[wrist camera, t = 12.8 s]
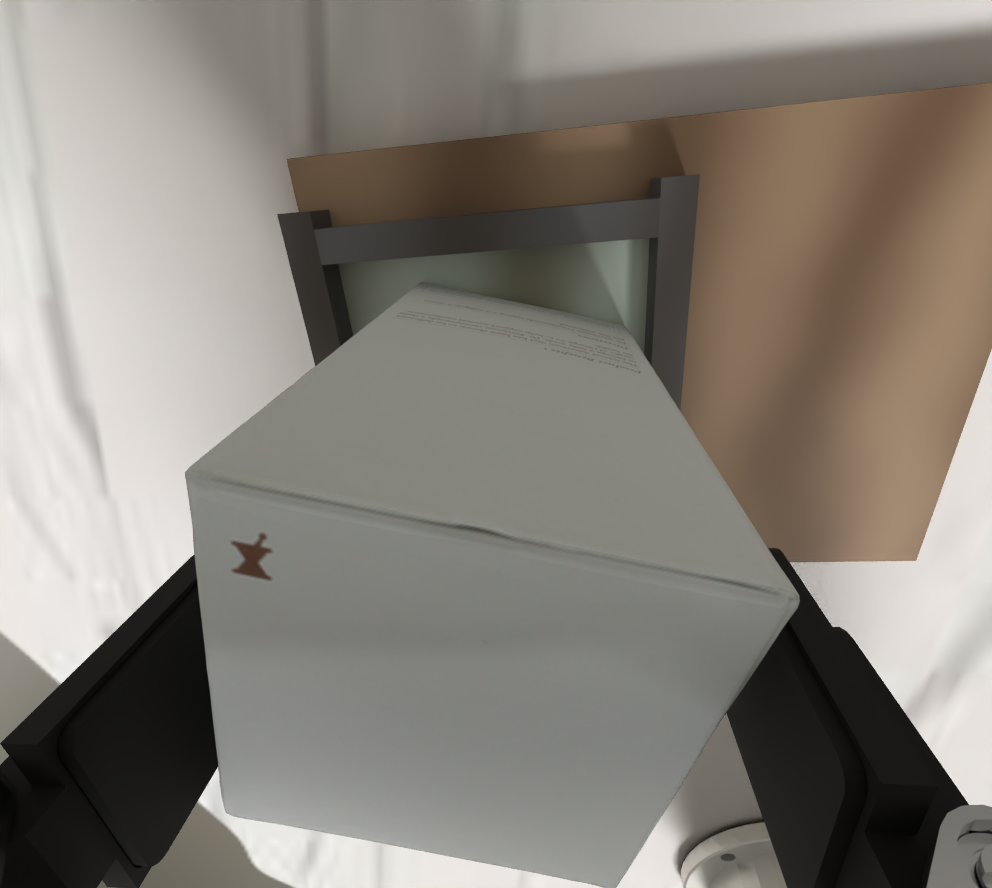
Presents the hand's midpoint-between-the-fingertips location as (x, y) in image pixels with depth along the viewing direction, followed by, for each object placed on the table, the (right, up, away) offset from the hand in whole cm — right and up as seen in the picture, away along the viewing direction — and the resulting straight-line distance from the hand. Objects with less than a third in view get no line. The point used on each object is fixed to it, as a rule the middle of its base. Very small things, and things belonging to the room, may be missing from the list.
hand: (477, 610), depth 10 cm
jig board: (+6, +6, +9) cm, 13 cm away
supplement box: (+1, +5, +9) cm, 10 cm away
